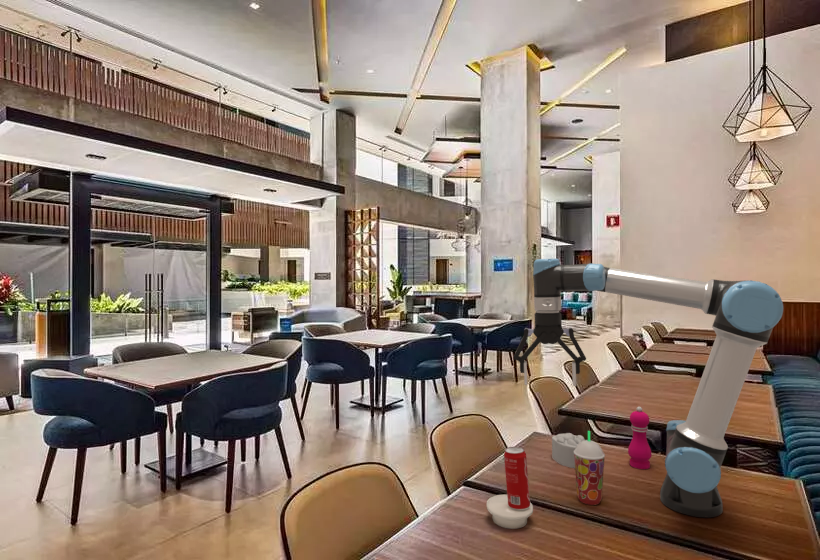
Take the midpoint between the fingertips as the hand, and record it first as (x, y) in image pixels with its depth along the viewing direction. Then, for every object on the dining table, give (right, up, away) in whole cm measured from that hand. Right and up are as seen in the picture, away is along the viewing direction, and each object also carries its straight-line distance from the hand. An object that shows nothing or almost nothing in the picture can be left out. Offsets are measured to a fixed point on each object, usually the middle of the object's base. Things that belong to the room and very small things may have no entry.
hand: (549, 384), depth 140 cm
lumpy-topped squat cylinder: (+15, -33, +27) cm, 45 cm away
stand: (-14, -33, -13) cm, 38 cm away
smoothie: (+11, -33, -2) cm, 35 cm away
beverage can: (-12, -29, -13) cm, 34 cm away
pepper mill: (+37, -32, +22) cm, 54 cm away
